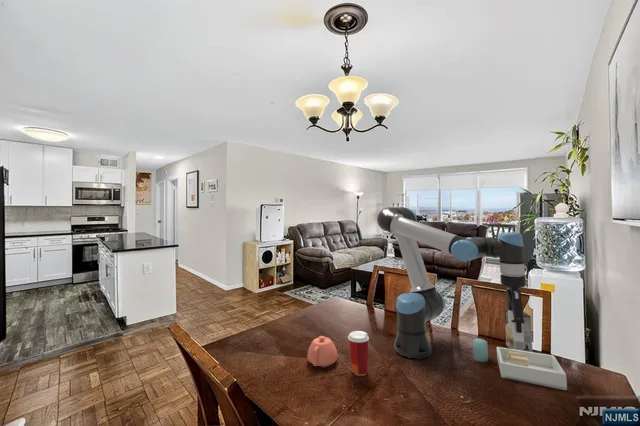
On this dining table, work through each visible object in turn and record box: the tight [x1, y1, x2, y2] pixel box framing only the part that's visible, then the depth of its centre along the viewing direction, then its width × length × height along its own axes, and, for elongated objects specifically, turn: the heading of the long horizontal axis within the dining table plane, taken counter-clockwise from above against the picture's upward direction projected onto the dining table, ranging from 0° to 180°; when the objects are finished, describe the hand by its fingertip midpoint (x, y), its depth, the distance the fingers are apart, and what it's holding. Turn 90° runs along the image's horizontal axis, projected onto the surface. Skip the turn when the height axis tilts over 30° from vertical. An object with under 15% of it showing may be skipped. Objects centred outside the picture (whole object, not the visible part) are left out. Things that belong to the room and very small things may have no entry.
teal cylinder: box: [472, 337, 489, 363], centre depth 108 cm, size 5×5×7 cm
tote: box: [496, 346, 568, 391], centre depth 97 cm, size 18×14×5 cm
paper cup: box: [347, 330, 370, 374], centre depth 102 cm, size 8×8×14 cm
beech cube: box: [509, 351, 529, 367], centre depth 98 cm, size 5×5×5 cm
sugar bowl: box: [306, 335, 339, 367], centre depth 109 cm, size 12×14×10 cm
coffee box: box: [503, 308, 533, 352], centre depth 114 cm, size 9×6×16 cm
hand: (516, 334), depth 99 cm, fingers open, 12 cm apart
